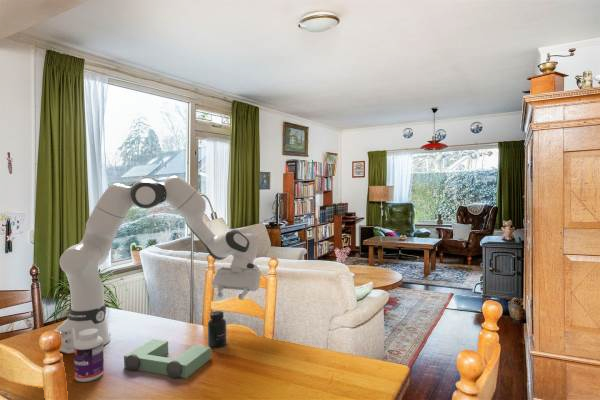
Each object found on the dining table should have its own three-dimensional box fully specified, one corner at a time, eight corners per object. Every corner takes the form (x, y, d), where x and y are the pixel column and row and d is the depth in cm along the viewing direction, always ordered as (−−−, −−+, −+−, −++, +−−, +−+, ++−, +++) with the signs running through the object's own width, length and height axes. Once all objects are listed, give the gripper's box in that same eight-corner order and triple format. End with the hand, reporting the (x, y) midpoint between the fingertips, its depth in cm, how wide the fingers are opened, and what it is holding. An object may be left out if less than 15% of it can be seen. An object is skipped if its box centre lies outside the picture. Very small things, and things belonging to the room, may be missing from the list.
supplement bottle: (222, 349, 138) (221, 316, 138) (204, 347, 140) (204, 315, 139) (229, 341, 145) (228, 310, 145) (212, 340, 146) (212, 309, 146)
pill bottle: (68, 380, 117) (66, 334, 117) (91, 369, 125) (90, 325, 124) (87, 385, 114) (85, 338, 114) (109, 373, 122) (108, 328, 121)
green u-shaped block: (121, 369, 124) (121, 354, 124) (153, 350, 138) (152, 336, 138) (184, 380, 116) (183, 363, 116) (210, 358, 131) (210, 344, 131)
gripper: (216, 263, 162) (203, 292, 153) (260, 265, 155) (250, 296, 146) (221, 271, 166) (210, 299, 157) (264, 274, 160) (255, 304, 151)
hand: (229, 298), depth 152 cm, fingers open, 8 cm apart
